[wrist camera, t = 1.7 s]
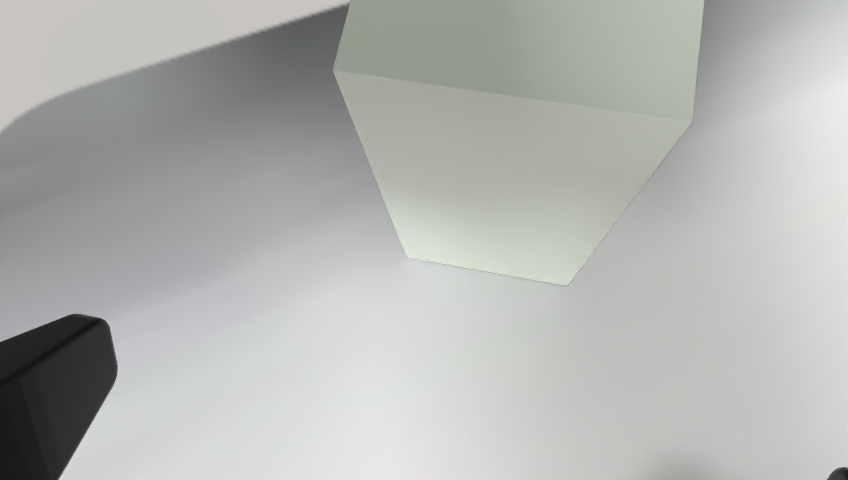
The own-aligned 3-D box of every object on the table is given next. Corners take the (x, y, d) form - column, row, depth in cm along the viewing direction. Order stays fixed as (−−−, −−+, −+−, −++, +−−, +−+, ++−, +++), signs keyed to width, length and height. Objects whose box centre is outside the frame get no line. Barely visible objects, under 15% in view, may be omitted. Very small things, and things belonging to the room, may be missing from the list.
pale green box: (567, 286, 21) (691, 121, 9) (406, 257, 22) (332, 70, 10) (588, 136, 23) (720, -173, 11) (436, 113, 24) (403, -201, 11)
